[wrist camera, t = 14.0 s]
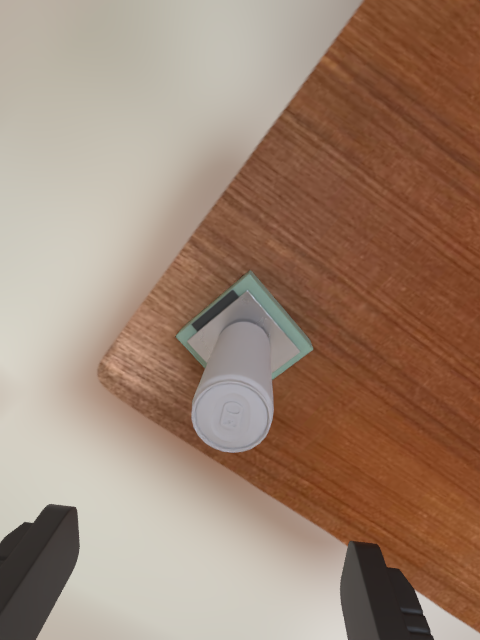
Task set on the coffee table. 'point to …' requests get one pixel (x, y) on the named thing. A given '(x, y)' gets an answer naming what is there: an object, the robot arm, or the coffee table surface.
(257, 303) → the scale pan
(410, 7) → the coffee table surface
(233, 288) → the scale
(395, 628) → the robot arm
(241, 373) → the beverage can
